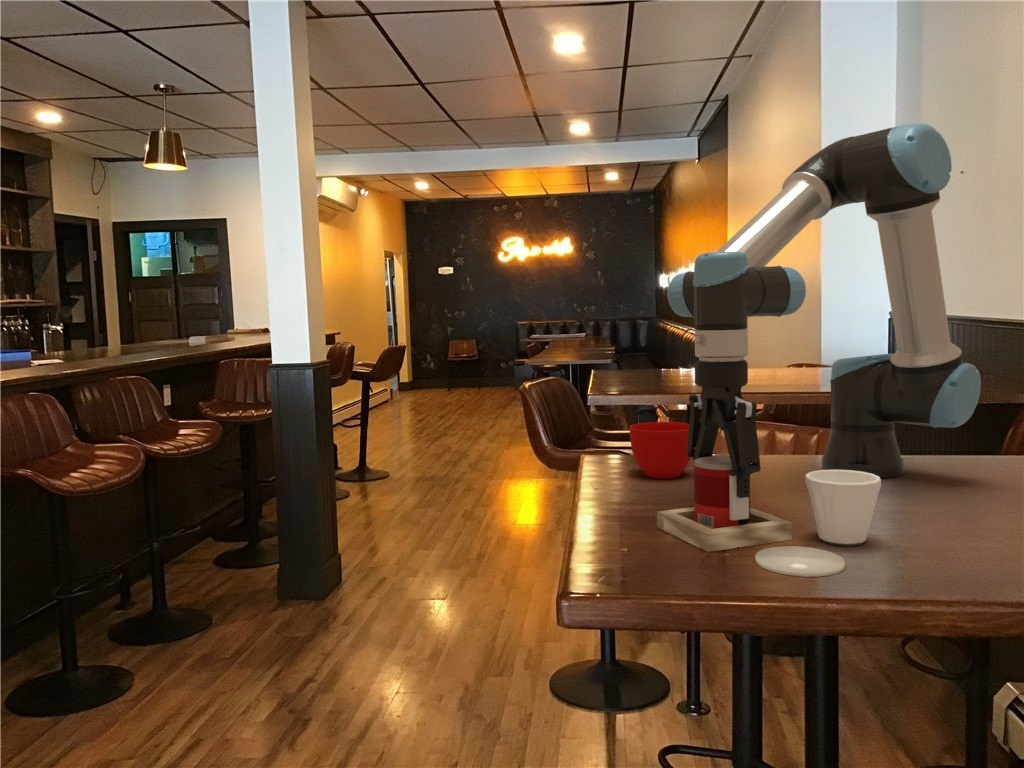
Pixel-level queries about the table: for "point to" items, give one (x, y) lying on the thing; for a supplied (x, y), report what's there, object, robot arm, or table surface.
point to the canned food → (713, 492)
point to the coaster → (800, 561)
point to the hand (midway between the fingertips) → (722, 512)
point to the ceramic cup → (660, 448)
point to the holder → (724, 530)
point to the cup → (843, 504)
